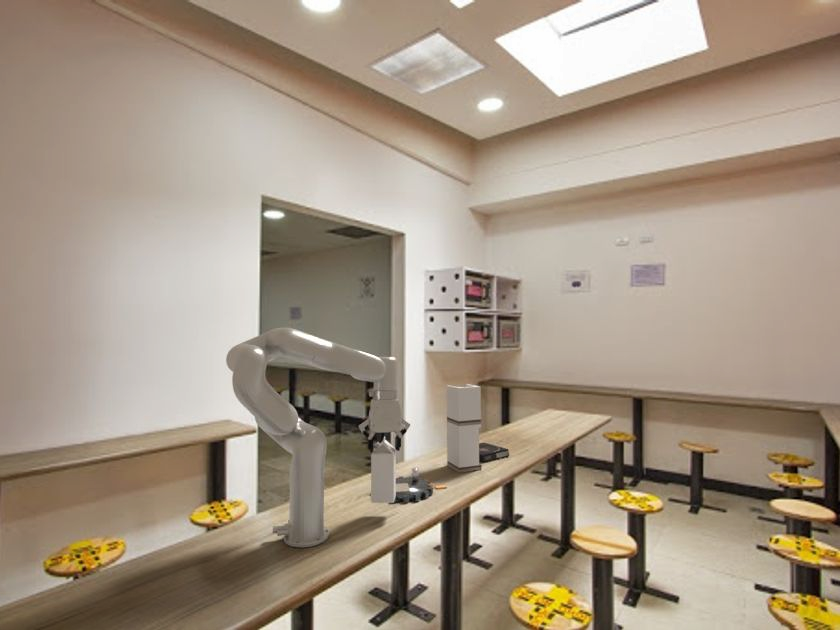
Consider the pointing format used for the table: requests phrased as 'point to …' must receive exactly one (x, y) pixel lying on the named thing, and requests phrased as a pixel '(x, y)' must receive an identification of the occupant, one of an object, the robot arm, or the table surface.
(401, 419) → the robot arm
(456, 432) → the banded white pillar
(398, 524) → the table surface
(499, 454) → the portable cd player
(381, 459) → the milk carton
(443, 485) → the block
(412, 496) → the sprocket
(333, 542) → the table surface
